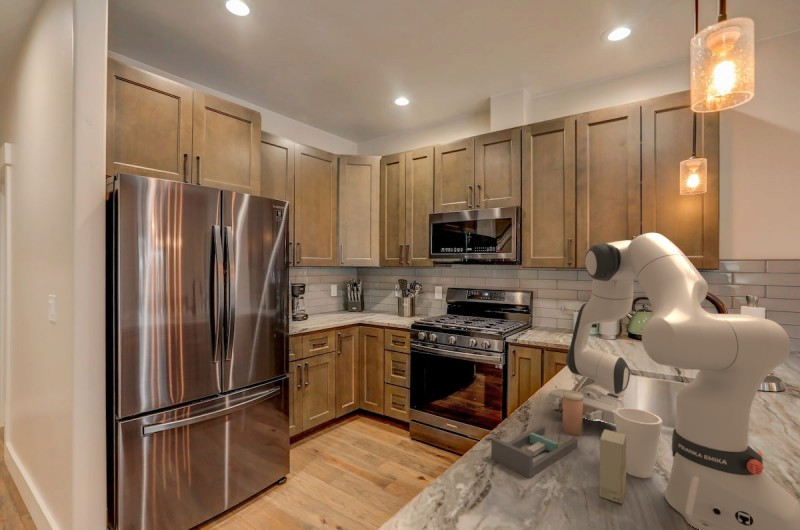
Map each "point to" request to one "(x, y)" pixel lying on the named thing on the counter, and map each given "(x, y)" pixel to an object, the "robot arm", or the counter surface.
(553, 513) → the counter surface
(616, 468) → the skincare box
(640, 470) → the foam cup
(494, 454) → the pusher lane
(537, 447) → the pusher plate
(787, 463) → the counter surface
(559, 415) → the counter surface
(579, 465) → the counter surface
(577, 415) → the terracotta jar
